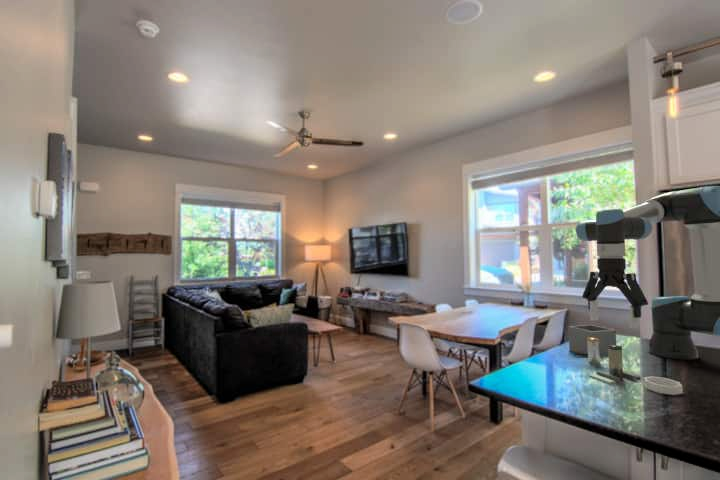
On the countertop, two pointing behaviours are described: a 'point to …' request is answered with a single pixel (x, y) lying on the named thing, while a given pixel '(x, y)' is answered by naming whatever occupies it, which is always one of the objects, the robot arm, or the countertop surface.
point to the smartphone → (580, 353)
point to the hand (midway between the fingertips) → (613, 324)
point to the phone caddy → (582, 332)
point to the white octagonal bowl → (663, 385)
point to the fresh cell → (593, 350)
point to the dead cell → (615, 361)
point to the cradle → (616, 378)
